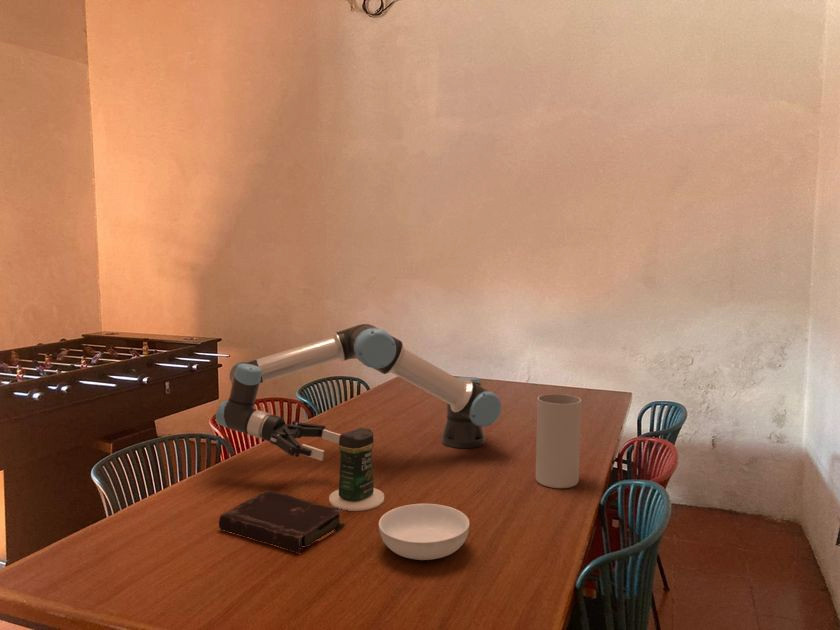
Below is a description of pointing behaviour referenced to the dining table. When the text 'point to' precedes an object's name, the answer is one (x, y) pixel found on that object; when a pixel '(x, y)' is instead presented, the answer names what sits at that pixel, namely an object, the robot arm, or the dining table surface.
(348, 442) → the coffee jar
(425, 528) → the serving bowl
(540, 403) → the cylinder vase
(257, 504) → the diary
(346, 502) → the ceramic trivet
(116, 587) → the dining table surface
